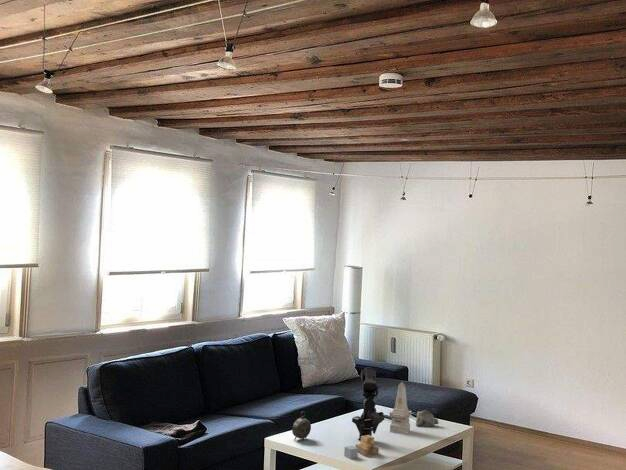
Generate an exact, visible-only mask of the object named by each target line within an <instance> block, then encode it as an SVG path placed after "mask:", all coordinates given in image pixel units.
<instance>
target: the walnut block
mask: <svg viewBox="0 0 626 470" xmlns="http://www.w3.org/2000/svg"><path fill="white" fill-rule="evenodd" d="M354 447H357V448H358V455H362V456H363V457H370V456H375V455H379V453H380V452H379V451H380V449H379V447H378V446H377V445H374V447H369V448H365V447H363V446H361V443H357V444H355V445H354Z"/></svg>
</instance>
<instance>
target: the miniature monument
mask: <svg viewBox="0 0 626 470" xmlns="http://www.w3.org/2000/svg"><path fill="white" fill-rule="evenodd" d="M406 390H407V389H406V384H405V383H404V382H403V381H401V382H400V383H399V384H398V386H397V393H396V398H395V401H394V402H395V403H394V408H393V409H392V411H389V417H391V423H390V424H389V433H394V434H400V435H407V434H408V433H409V432H410V431H411V423H410V416H412V410H409V407H408V401H407V391H406Z"/></svg>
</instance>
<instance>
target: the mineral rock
mask: <svg viewBox="0 0 626 470" xmlns="http://www.w3.org/2000/svg"><path fill="white" fill-rule="evenodd" d="M439 423H440V422H439V420H438V418H435V417H434V414H433V413H431V412H429V411H428V410H426V409H424V410H422V411H419V410H418V411H417V412H416V420H415V426H416V427H431V426H435V425H439Z"/></svg>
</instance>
